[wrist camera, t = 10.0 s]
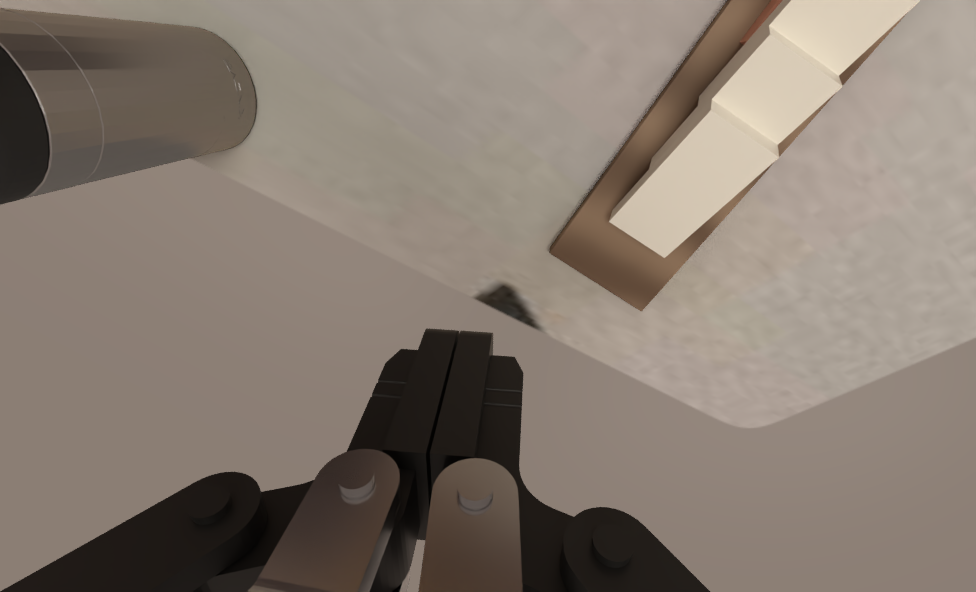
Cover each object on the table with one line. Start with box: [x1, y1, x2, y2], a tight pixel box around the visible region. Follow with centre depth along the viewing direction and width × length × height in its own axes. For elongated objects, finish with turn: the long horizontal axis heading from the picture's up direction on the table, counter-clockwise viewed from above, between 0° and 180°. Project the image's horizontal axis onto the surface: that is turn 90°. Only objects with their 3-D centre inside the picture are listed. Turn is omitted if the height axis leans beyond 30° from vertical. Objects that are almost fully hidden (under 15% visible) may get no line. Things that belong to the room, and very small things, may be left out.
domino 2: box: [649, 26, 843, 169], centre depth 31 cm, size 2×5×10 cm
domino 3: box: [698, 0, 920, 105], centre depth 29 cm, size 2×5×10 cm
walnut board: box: [549, 0, 908, 311], centre depth 34 cm, size 28×9×1 cm, turn 149°
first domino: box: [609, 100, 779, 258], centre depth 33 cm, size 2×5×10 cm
